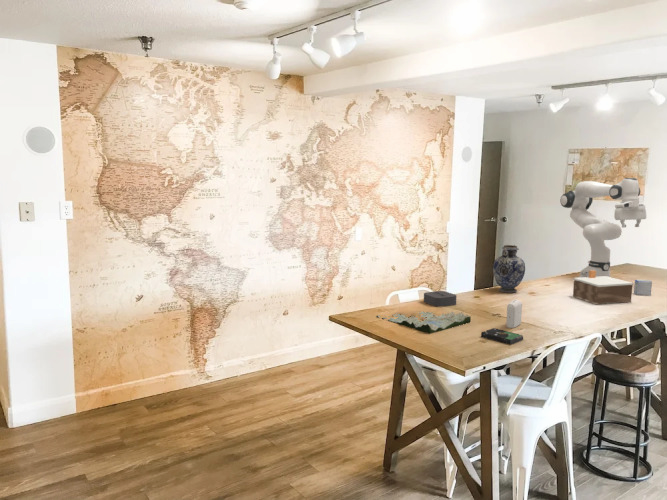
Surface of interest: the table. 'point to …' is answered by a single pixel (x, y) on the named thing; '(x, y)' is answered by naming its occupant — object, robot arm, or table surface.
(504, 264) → the decorative vase
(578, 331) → the table surface
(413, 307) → the table surface
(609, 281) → the box lid
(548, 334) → the table surface
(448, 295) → the streaming box
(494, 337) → the disk drive
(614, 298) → the wooden box
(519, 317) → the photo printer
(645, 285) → the medicine box
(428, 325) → the topographic map model
